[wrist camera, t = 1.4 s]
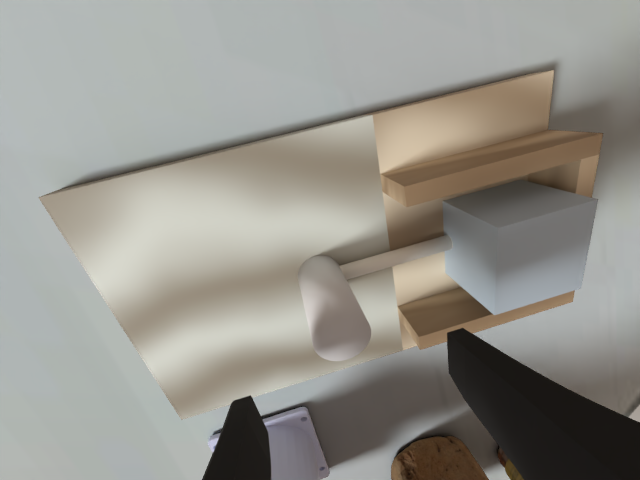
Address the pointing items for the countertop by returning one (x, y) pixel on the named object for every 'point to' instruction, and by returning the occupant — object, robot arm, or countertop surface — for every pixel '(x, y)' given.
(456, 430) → the countertop surface
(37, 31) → the countertop surface
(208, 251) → the shelf lane
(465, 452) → the block
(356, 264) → the block
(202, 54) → the countertop surface
